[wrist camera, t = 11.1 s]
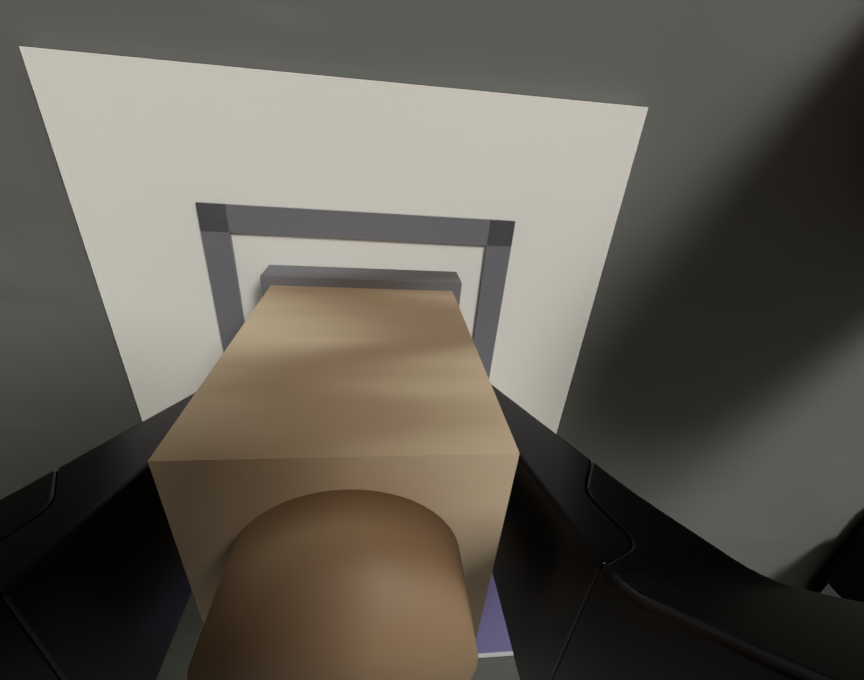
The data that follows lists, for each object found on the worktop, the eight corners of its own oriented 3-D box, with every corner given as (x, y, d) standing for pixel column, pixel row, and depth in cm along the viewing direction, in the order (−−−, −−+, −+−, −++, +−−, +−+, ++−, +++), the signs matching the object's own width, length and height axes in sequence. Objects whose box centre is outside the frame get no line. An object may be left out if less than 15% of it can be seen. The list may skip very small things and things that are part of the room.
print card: (641, 107, 9) (650, 107, 8) (534, 493, 14) (538, 502, 14) (31, 48, 7) (15, 45, 7) (175, 503, 13) (170, 513, 13)
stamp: (456, 271, 10) (585, 533, 4) (441, 414, 12) (505, 740, 6) (269, 264, 9) (29, 559, 3) (286, 415, 11) (166, 781, 5)
